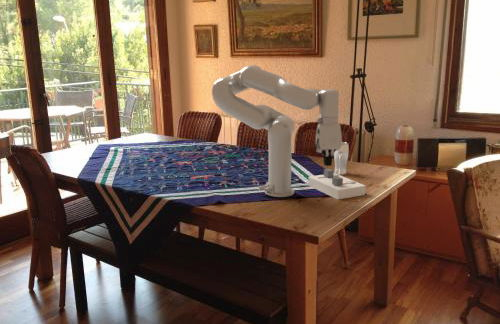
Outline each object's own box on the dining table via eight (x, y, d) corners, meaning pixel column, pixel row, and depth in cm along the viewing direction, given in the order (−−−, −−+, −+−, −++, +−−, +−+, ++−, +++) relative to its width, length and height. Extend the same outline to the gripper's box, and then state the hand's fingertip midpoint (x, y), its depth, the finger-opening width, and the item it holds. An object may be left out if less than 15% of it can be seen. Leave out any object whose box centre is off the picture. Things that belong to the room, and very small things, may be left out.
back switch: (327, 177, 202) (328, 171, 201) (323, 175, 205) (323, 169, 204) (333, 176, 203) (333, 170, 202) (329, 174, 206) (329, 168, 205)
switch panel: (337, 199, 186) (338, 189, 185) (308, 185, 205) (308, 176, 204) (364, 194, 192) (365, 185, 191) (333, 181, 211) (334, 172, 210)
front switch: (336, 185, 190) (337, 179, 189) (332, 183, 192) (332, 177, 192) (342, 184, 191) (342, 178, 190) (337, 182, 194) (338, 176, 193)
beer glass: (347, 175, 220) (349, 145, 217) (332, 174, 222) (334, 144, 218) (347, 171, 227) (348, 142, 223) (333, 171, 228) (334, 141, 225)
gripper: (318, 123, 176) (317, 169, 180) (349, 120, 182) (348, 164, 187) (307, 121, 183) (307, 165, 187) (338, 117, 189) (337, 161, 193)
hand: (327, 165), depth 187 cm, fingers closed
